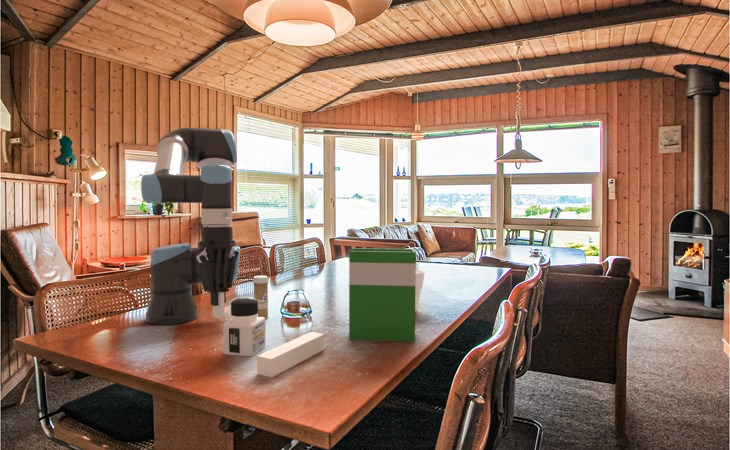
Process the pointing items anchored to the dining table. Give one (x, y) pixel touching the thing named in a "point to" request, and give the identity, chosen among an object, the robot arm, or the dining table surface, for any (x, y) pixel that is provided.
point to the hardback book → (382, 294)
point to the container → (244, 329)
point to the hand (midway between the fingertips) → (218, 317)
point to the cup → (418, 286)
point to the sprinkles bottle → (261, 294)
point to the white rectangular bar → (289, 354)
